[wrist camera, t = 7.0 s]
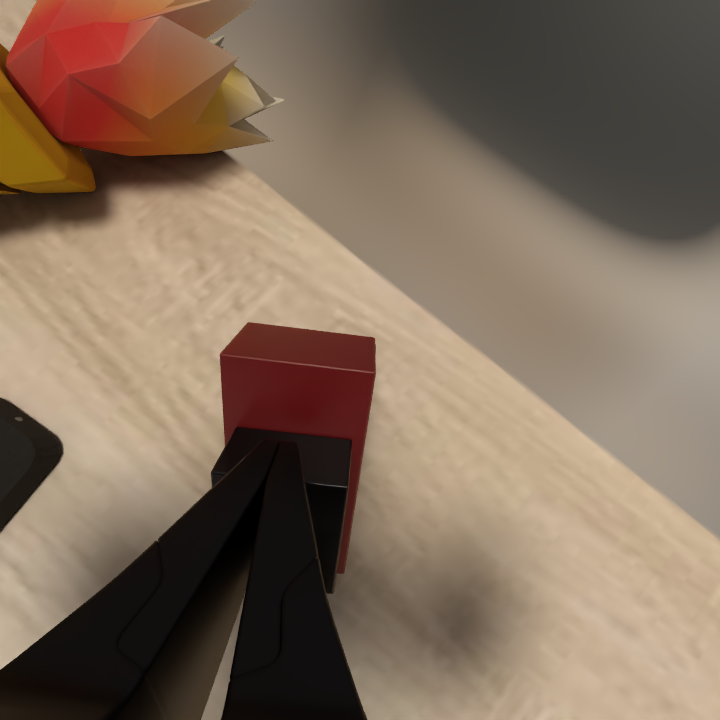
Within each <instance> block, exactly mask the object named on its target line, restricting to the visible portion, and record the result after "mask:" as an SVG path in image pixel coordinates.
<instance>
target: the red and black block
mask: <svg viewBox="0 0 720 720" xmlns="http://www.w3.org/2000/svg"><path fill="white" fill-rule="evenodd" d="M375 353H376V345H375V338H373V337H365V336H357V335H349V334H340V333H332V332H324V331H316V330H308V329H299V328H291V327H283V326H275V325H266V324H258V323H250V322H249V323H247V324H246V325H245V326H244V327H243V328H242V330H241V331H240V332H239V333H238V334H237V335H236V336H235V338H234V339H233V340H232V341H231V342H230V343H229V344H228V345H227V347H226V348H225V349H224V350H223V351H222V352H221V353H220V365H221V383H222V401H223V418H224V436H225V448H224V450H223V451H222V453H221V455H220V457H219V459H218V460H217V462H216V464H215V466H214V468H213V469H212V471H211V479H212V488H213V487H214V486H215V485H216V484H217V483H218V482H219V481H220V480H221V479H222V478H223V477H224V476H225V475H226V474H227V473H228V472H229V471H231V470H232V469H233V468H234V467H235V466H236V465H237V464H238V463H239V462H240V461H241V460H242V459H243V458H244V457H245V456H246V455H248V454H249V453H250V452H251V451H252V450H253V449H254V448H255V447H256V446H257V445H258V444H259V443H260V442H261V441H262V440H264V439H275V440H279V441H280V442H281V441H293V442H296V443H297V445H298V450H299V455H300V460H301V466H302V471H303V476H304V482H305V487H306V492H307V498H308V503H309V508H310V514H311V519H312V524H313V530H314V535H315V540H316V546H317V551H318V558H319V561H320V566H321V571H322V577H323V581H324V586H325V590H326V593H328V594H333V593H334V588H335V581H336V574H337V573H338V574H344V572H345V566H346V560H347V554H348V547H349V541H350V534H351V528H352V522H353V515H354V509H355V502H356V496H357V490H358V483H359V477H360V470H361V464H362V458H363V451H364V445H365V439H366V432H367V426H368V419H369V413H370V407H371V400H372V394H373V387H374V381H375V375H376V363H375Z"/></svg>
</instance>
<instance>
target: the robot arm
mask: <svg viewBox="0 0 720 720" xmlns="http://www.w3.org/2000/svg"><path fill="white" fill-rule="evenodd" d="M245 591H246V592H245ZM244 594H245V597H244ZM243 597H244V603H243V608H242V614H241V619H240V625H239V630H238V636H237V641H236V646H235V652H234V657H233V663H232V668H231V674H230V682H229V685H228V690H227V695H226V700H225V705H224V710H223V714H222V718H221V720H367V717H366V715H365V712H364V710H363V707H362V704H361V701H360V699H359V696H358V693H357V690H356V687H355V684H354V681H353V678H352V675H351V672H350V669H349V666H348V663H347V659H346V656H345V653H344V650H343V647H342V644H341V641H340V638H339V635H338V632H337V629H336V626H335V623H334V619H333V616H332V613H331V609H330V606H329V602H328V599H327V594H326V590H325V586H324V581H323V577H322V571H321V566H320V561H319V558H318V551H317V546H316V540H315V535H314V530H313V524H312V519H311V514H310V508H309V503H308V498H307V492H306V487H305V482H304V476H303V471H302V466H301V460H300V455H299V450H298V445H297V443H296V442H293V441H281V442H280V441H279V440H275V439H264V440H262V441H261V442H260V443H259V444H258V445H257V446H256V447H255V448H254V449H253V450H252V451H251V452H250V453H249V454H248V455H246V456H245V457H244V458H243V459H242V460H241V461H240V462H239V463H238V464H237V465H236V466H235V467H234V468H233V469H232V470H231V471H229V472H228V473H227V474H226V475H225V476H224V477H223V478H222V479H221V480H220V481H219V482H218V483H217V484H216V485H215V486H214V487H213V488H211V489H210V490H209V491H208V492H207V493H206V494H205V495H204V496H203V497H202V498H201V499H200V500H199V501H198V502H197V503H196V504H194V505H193V506H192V507H191V508H190V509H189V510H188V511H187V512H186V513H185V514H184V515H183V516H182V517H181V518H180V519H179V520H178V521H176V522H175V523H174V524H173V525H172V526H171V527H170V528H169V529H168V530H167V531H166V532H165V533H164V534H163V535H162V536H161V537H159V539H158V541H155V542H154V543H153V544H152V545H151V546H150V547H149V548H148V549H147V550H145V551H144V552H143V553H142V554H141V555H140V556H139V557H138V558H137V559H136V560H135V561H134V562H132V563H131V564H130V565H129V566H128V567H127V568H126V569H125V570H124V571H122V572H121V573H120V574H119V575H118V576H117V577H116V578H114V579H113V580H112V581H111V582H110V583H108V584H107V585H106V586H105V587H104V588H102V589H101V590H100V591H99V592H98V593H96V594H95V595H94V596H93V597H92V598H90V599H89V600H88V601H87V602H85V603H84V604H83V605H82V606H80V607H79V608H78V609H77V610H75V611H74V612H73V613H72V614H70V615H69V616H68V617H67V618H65V619H64V620H63V621H62V622H60V623H59V624H58V625H57V626H55V627H54V628H53V629H52V630H50V631H49V632H48V633H47V634H45V635H44V636H43V637H42V638H40V639H39V640H38V641H37V642H35V643H34V644H33V645H32V646H30V647H29V648H28V649H27V650H25V651H24V652H23V653H22V654H20V655H19V656H18V657H17V658H15V659H14V660H13V661H11V662H10V663H9V664H7V665H6V666H5V667H4V668H2V669H1V670H0V720H201V718H202V715H203V712H204V709H205V706H206V703H207V701H208V698H209V695H210V692H211V689H212V686H213V683H214V680H215V677H216V675H217V672H218V669H219V666H220V663H221V660H222V657H223V654H224V651H225V649H226V646H227V643H228V640H229V637H230V634H231V631H232V628H233V626H234V623H235V620H236V617H237V614H238V611H239V608H240V605H241V602H242V600H243Z"/></svg>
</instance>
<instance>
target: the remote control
mask: <svg viewBox="0 0 720 720" xmlns="http://www.w3.org/2000/svg"><path fill="white" fill-rule="evenodd" d="M59 455H60V443H59V442H58V441H57V439H56V438H55V437H54V435H52V434H51V433H50V432H48V431H47V430H46V429H44V428H43V427H42V426H40V425H39V424H37V423H36V422H35V421H33V420H32V419H31V418H29V417H28V416H26V415H25V414H24V413H22V412H21V411H20V410H18V409H17V408H16V407H14V406H13V405H11V404H10V403H9V402H7V401H6V400H4V399H1V398H0V529H1V528H2V527H3V525H4V524H5V523H6V522H7V521H8V520H9V518H10V517H11V516H12V515H13V514H14V512H15V511H16V510H17V509H18V508H19V506H20V505H21V504H22V503H23V502H24V501H25V499H26V498H27V497H28V496H29V495H30V493H31V492H32V491H33V490H34V489H35V487H36V486H37V485H38V484H39V483H40V482H41V480H42V479H43V478H44V477H45V476H46V474H47V473H48V472H49V471H50V470H51V469H52V467H53V466H54V465H55V463H56V461H57V459H58V457H59Z"/></svg>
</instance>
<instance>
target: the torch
mask: <svg viewBox="0 0 720 720" xmlns="http://www.w3.org/2000/svg"><path fill="white" fill-rule="evenodd" d="M255 3H256V2H255V1H253V0H37V2H36V4H35V5H34V7H33V9H32V11H31V13H30V15H29V17H28V18H27V20H26V22H25V24H24V26H23V28H22V30H21V32H20V33H19V35H18V37H17V39H16V41H15V43H14V45H13V47H12V49H11V50H10V52H9V51H8V50H7V49H6V48H5V47H3V46H2V45H1V44H0V194H21V191H20V190H24V191H29V192H34V193H63V192H93V191H94V190H95V189H96V186H95V181H94V176H93V171H92V169H91V167H90V166H89V164H88V162H87V161H86V159H85V157H84V155H83V154H82V152H81V150H80V149H79V147H82V148H88V149H94V150H99V151H105V152H111V153H116V154H122V155H127V156H145V155H172V154H200V153H210V152H215V151H221V150H226V149H232V148H237V147H243V146H248V145H253V144H259V143H265V142H270V141H273V140H271V139H270V138H268V137H267V136H266V135H265V134H263V133H262V132H260V131H259V130H258V129H256V128H255V127H254V126H252V125H251V124H249V123H248V122H247V121H246V120H244V119H245V118H247V117H249V116H251V115H253V114H256V113H258V112H260V111H262V110H264V109H267V108H269V107H271V106H273V105H275V104H277V103H280V102H282V101H284V99H280V98H276V97H271V96H270V95H268V93H266V92H265V91H264V90H263V89H262V88H261V87H259V86H258V85H257V84H256V83H255V82H254V81H252V80H251V79H250V78H249V77H248V76H247V75H246V74H244V73H243V72H241V71H240V70H239V69H237V68H236V67H235V66H233V65H234V64H235V62H236V61H237V59H238V57H237V56H235V55H233V54H231V53H229V52H228V51H226V50H224V49H223V47H220V45H221V43H222V41H223V39H224V37H225V36H221V37H218V38H215V39H212V40H208V41H207V40H206V38H207V37H209V36H210V35H211V34H213V33H214V32H215V31H217V30H218V29H220V28H221V27H223V26H224V25H225V24H227V23H228V22H230V21H231V20H232V19H234V18H235V17H236V16H238V15H239V14H241V13H242V12H244V11H245V10H246V9H248V8H249V7H250V6H252V5H253V4H255Z"/></svg>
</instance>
